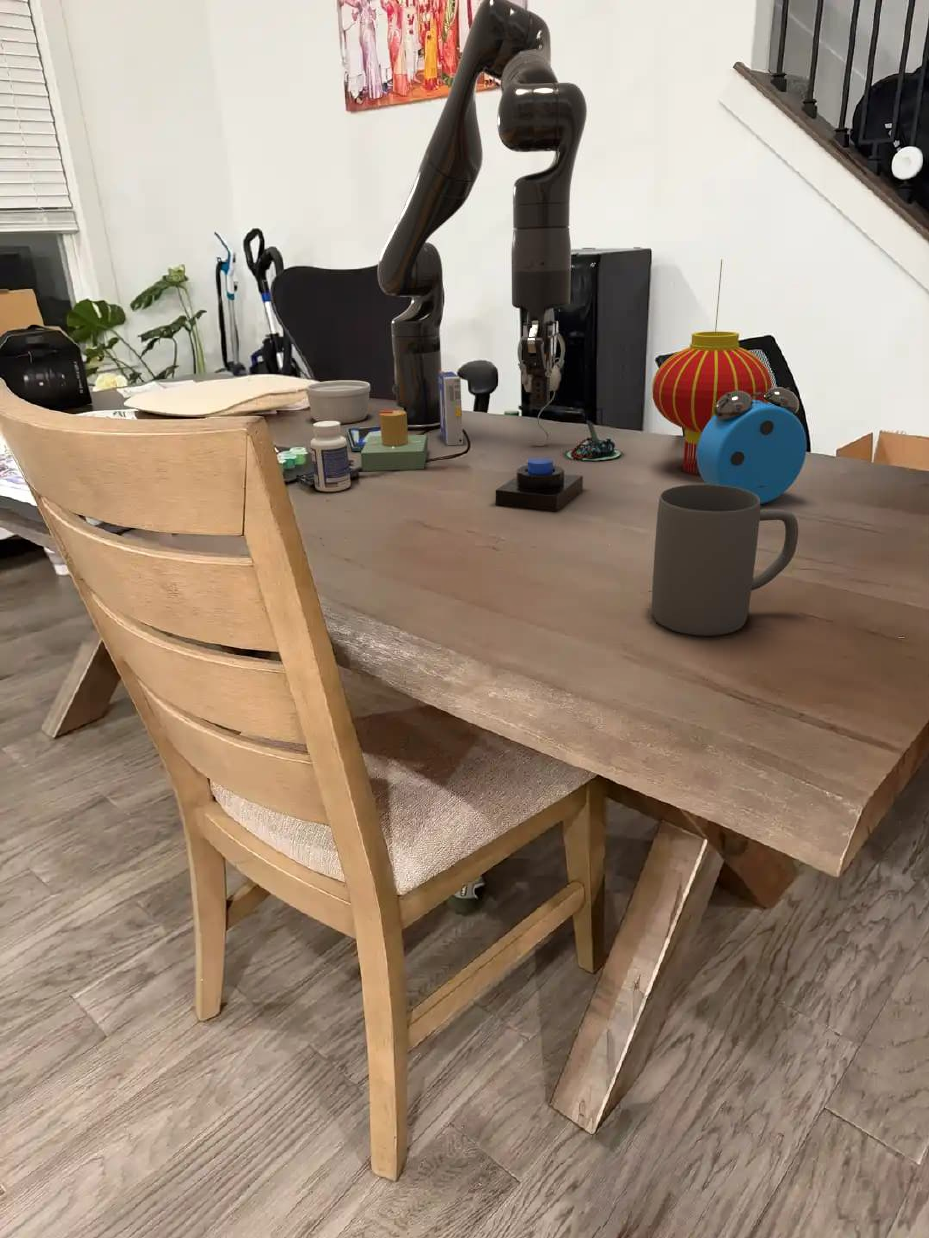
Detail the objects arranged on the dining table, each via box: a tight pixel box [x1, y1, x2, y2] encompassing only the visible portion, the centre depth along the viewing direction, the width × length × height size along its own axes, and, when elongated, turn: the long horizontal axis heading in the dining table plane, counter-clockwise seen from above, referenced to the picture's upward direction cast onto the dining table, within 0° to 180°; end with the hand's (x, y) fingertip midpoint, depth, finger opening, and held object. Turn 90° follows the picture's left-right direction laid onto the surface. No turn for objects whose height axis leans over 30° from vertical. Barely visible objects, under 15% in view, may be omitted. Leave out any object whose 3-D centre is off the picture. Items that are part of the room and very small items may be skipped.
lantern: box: [651, 259, 773, 475], centre depth 124 cm, size 17×17×30 cm
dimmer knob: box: [379, 409, 409, 446], centre depth 140 cm, size 4×4×5 cm
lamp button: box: [526, 457, 554, 474], centre depth 118 cm, size 4×4×2 cm
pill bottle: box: [310, 421, 351, 493], centre depth 126 cm, size 5×5×10 cm
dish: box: [566, 419, 622, 461], centre depth 141 cm, size 8×7×8 cm
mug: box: [651, 483, 799, 637], centre depth 80 cm, size 14×9×12 cm
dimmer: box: [360, 434, 429, 472], centre depth 141 cm, size 12×10×3 cm
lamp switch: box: [495, 464, 584, 512], centre depth 119 cm, size 11×9×4 cm
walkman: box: [438, 370, 464, 446], centre depth 152 cm, size 8×3×12 cm, turn 11°
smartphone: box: [346, 425, 381, 452], centre depth 156 cm, size 7×1×15 cm
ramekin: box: [305, 379, 371, 425], centre depth 175 cm, size 13×13×7 cm
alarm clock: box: [696, 386, 808, 505], centre depth 112 cm, size 13×6×15 cm, turn 104°
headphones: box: [517, 333, 566, 447], centre depth 144 cm, size 8×4×20 cm, turn 105°
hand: (540, 405), depth 115 cm, fingers closed
